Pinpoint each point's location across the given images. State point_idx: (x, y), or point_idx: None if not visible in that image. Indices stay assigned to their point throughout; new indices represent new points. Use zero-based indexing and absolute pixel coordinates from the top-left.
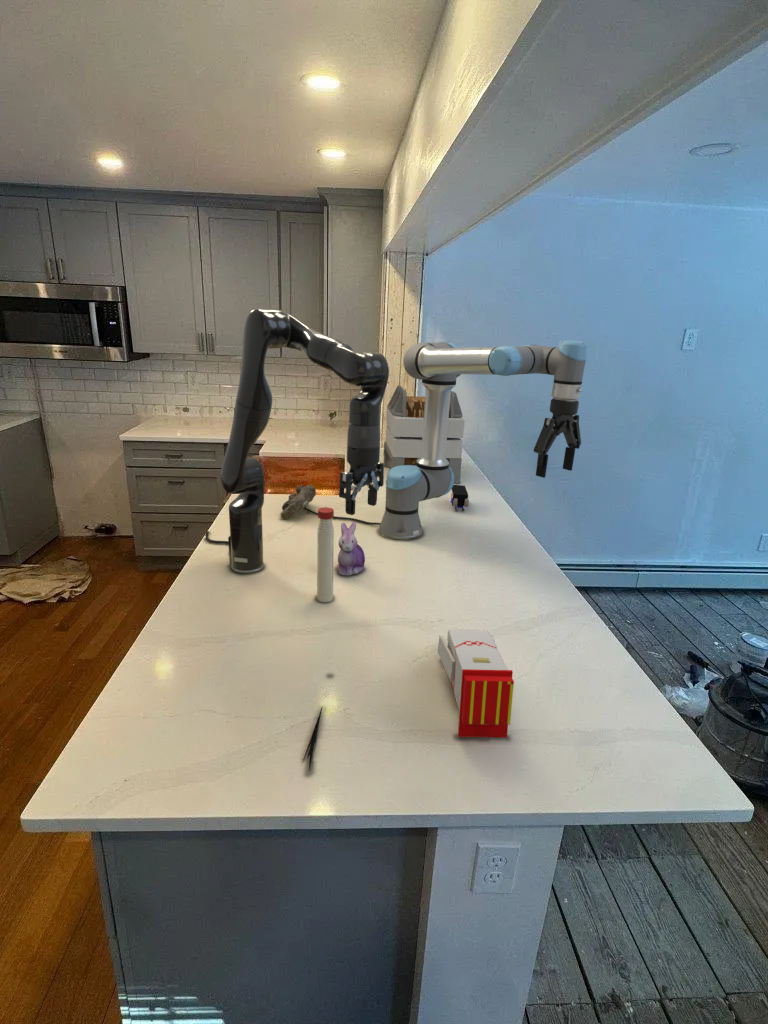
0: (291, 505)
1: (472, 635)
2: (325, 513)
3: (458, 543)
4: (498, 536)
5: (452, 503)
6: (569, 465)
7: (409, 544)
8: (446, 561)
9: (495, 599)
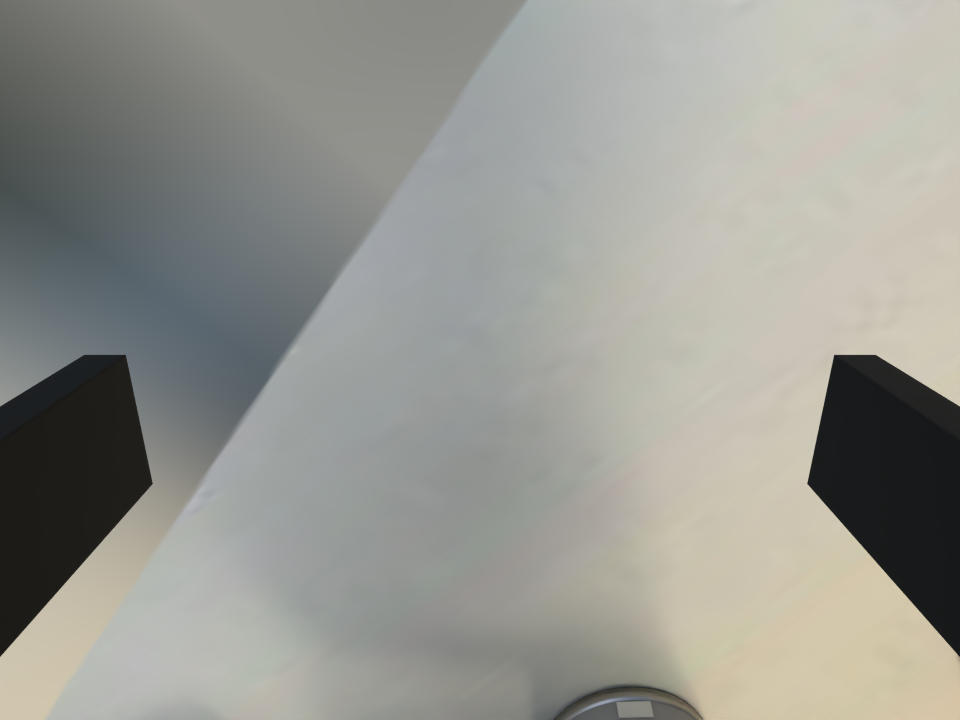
0: None
1: None
2: None
3: (523, 580)
4: (314, 540)
5: None
6: (85, 421)
7: (688, 665)
8: (708, 498)
9: (872, 154)
